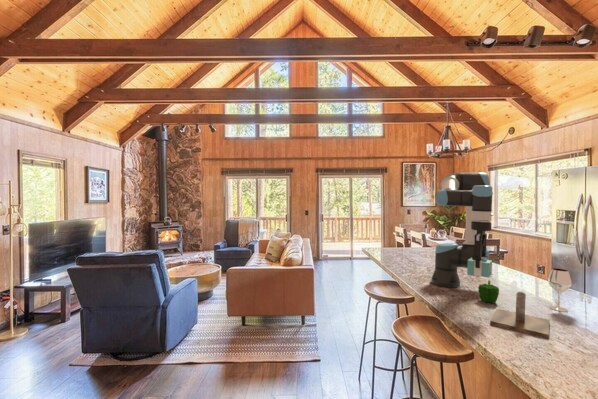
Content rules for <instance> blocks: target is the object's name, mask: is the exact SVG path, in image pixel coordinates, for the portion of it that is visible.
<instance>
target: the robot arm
mask: <svg viewBox="0 0 598 399" xmlns="http://www.w3.org/2000/svg"><path fill="white" fill-rule="evenodd" d="M490 181H491V180H490V176H489V174H488V173H487V172H479V171H477V172H474V171H473V172H472V171H471V172H454V173H450V174H448V175H446V176H445V177H443V179H441V182H440V189H438V190H436V195H435V196H436V197H435V198H436V205H437V206H443V207H448V206H449V207H451V206H452V207H466V208H465V209H466V210H465V240H464V241H463V242H462V244H461V245H462V246H460V245H459V244H458V243H454V242H445V243H444V242H443V243H439V244H437V245H436V246H435V252H434V255H435V258H434V259H435V260H434V271H433V273H432V276H431V279H430V282H431V283H432V284H433V285H435V286H439V287H443V288H451V289H453V288H459V287H461V280H460V277H459V274H458V268H463V269H464V268H465V269H467V265H468V260H469V259H470V258H472V260H474V275H473V276H476V275H477V277H482V276H481V275H482V259H486V260H490V249H489V248H487V237H488V234H487V233H486V232H490V231H492V222H491V221H492V217H493V216H494V214H493V213H492V212H493V208H492V206H493V195H494V192H493V185H491V182H490Z"/></svg>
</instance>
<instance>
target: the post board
mask: <svg viewBox="0 0 598 399" xmlns="http://www.w3.org/2000/svg"><path fill="white" fill-rule="evenodd" d="M515 296H516V297H515V312H514V311H510V310H506V309H501V308H496V309H495V312H494V313H493V315H492V317H491V319H490V321H489V325H491V326H494V327H499V328H503V329H507V330H512V331H515V332H519V333H523V334H527V335H530V336H531V335H532V336H535V337H540V338H543V339H548V340H549V337H550V335H549V334H550V319H548V318H543V317H539V316H534V315H529V314H526V293H525V292H524V291H517V292H516V294H515Z"/></svg>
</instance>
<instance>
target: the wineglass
mask: <svg viewBox="0 0 598 399" xmlns="http://www.w3.org/2000/svg"><path fill="white" fill-rule="evenodd" d="M547 282H548V284H549V286H550V287H551V288H552V289H554V291H555V292H556V293H557V306H556V305H552V306H549V309H551V310H554V311H557V312H564V313H565V312H569V309H567V308H565V307H561V294H562V293H564V292H565V291H567V290H569V289H570V288H571V286H572V284H573V283H572V279H571V275H570V272H569V270H567V269H564V268H563V269H562V268H555V267H552V268H551V271H550V273H549V275H548V280H547Z"/></svg>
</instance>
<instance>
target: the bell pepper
mask: <svg viewBox="0 0 598 399" xmlns="http://www.w3.org/2000/svg"><path fill="white" fill-rule="evenodd" d="M477 291H478V295H479V299H480V300H481V301H482V302H484V303H489V304H495V303H497V300H498V298H499V293H500V289H499V287H498V286H497V285H496V286H495V285H494V284H491V280H490V279H489V280H488V281H487V283H482V284H478V290H477Z"/></svg>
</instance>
